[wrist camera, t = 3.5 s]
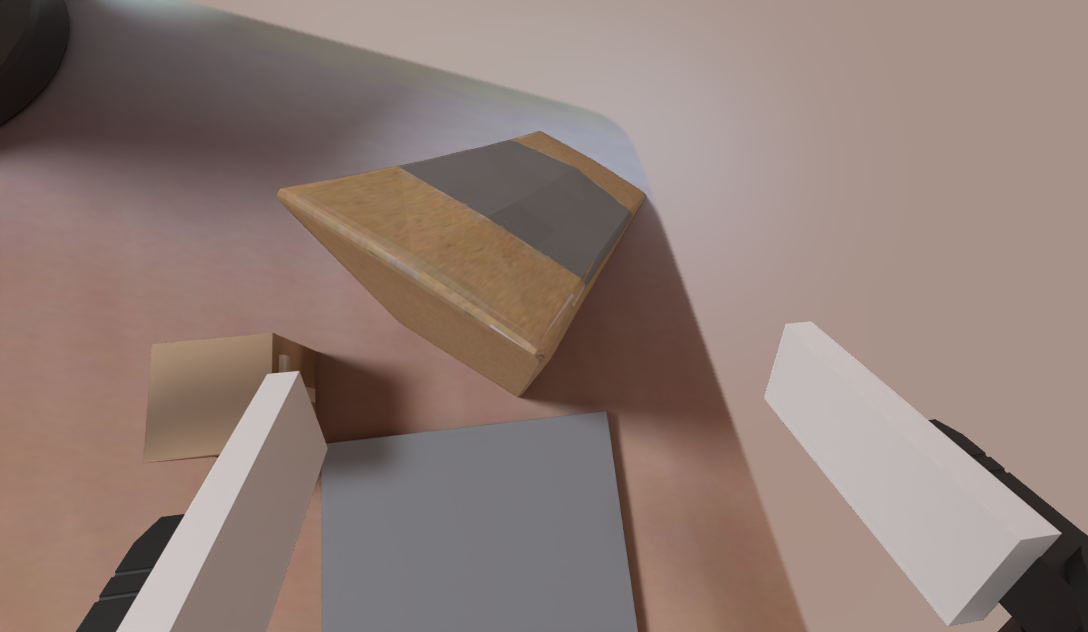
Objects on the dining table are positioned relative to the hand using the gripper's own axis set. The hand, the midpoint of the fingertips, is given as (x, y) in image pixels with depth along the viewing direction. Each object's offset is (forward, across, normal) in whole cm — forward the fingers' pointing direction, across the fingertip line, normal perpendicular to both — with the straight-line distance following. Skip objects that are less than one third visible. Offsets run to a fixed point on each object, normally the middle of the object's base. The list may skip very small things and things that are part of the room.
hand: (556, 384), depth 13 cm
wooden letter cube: (+11, -14, -8) cm, 19 cm away
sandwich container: (+16, +1, -3) cm, 16 cm away
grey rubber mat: (+2, -3, -17) cm, 17 cm away
